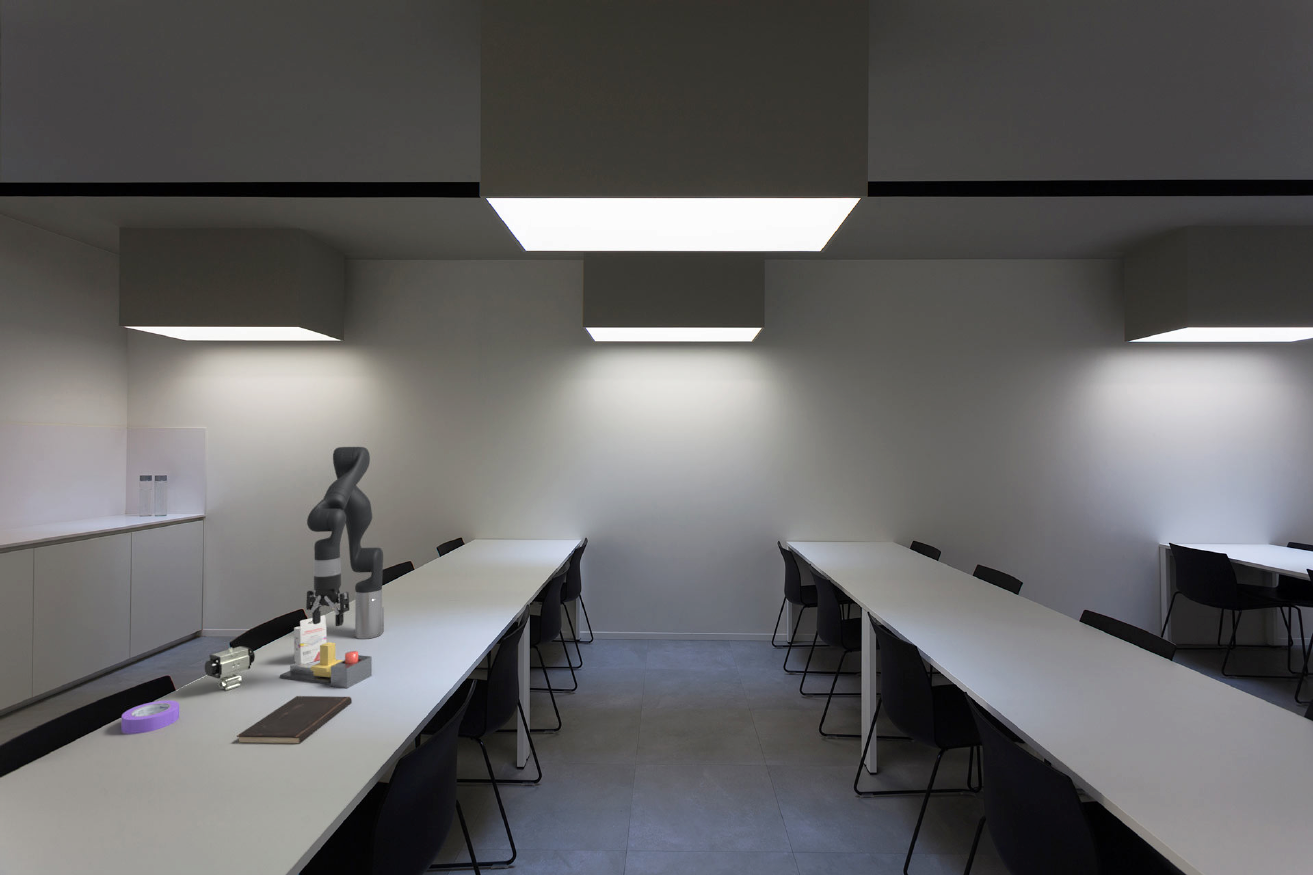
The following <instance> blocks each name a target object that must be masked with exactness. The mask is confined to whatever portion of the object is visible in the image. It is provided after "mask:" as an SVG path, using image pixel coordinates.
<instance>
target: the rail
mask: <svg viewBox="0 0 1313 875" xmlns="http://www.w3.org/2000/svg"><path fill="white" fill-rule="evenodd" d="M313 665H314V664H311V663H307V664H302V663H295V662H294V663H293V664H291V665H290V666H289V669H290V670H288V671H286V672H284V673H281V674H279V678H280V679H284V680H293V681H302V682H309V683H316V684H323V685H331V677H322V676H314V671H311V666H313Z"/></svg>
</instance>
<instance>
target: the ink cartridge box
mask: <svg viewBox="0 0 1313 875" xmlns="http://www.w3.org/2000/svg"><path fill="white" fill-rule="evenodd" d="M312 619H313V618H312V617H310V618H307V619H302V620H300V621H299V625H300V626H296V627H293V641H294V644H293V645H294V649H293V650H294V655H293V656H294V664H295V663H302V664H311V663H313V662H317V661H320V645H322V644H325V643H327V622H326V621H327V620H326V616H325V614H323V615H321V622H320V623H318V624H313V621H312ZM311 622H312V623H311Z"/></svg>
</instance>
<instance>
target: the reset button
mask: <svg viewBox="0 0 1313 875" xmlns="http://www.w3.org/2000/svg"><path fill="white" fill-rule="evenodd" d="M358 655H359V651H355V650H353V651H347V652H345V653H344V660H345V664H354V663H356V662H358Z"/></svg>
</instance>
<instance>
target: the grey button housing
mask: <svg viewBox="0 0 1313 875" xmlns="http://www.w3.org/2000/svg"><path fill="white" fill-rule="evenodd" d="M342 660H343V661H341V662H339V663H337V664H335V665H332V666H331V684H330V687H334V688H335V687H336V688H342V689H343V688H344V689H349V688H351V687H353V686H354V685H357V684H358V683H360V682H362V681H365V680H366V679H369V678H370V677H372V673H373V672H372V671H373V670H372V668H373V667H372V664H373V662H372V660H373V659H372V656H368V655H362V654H361V655H359V654H358V662H356V663H354V664H345V659H342Z"/></svg>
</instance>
